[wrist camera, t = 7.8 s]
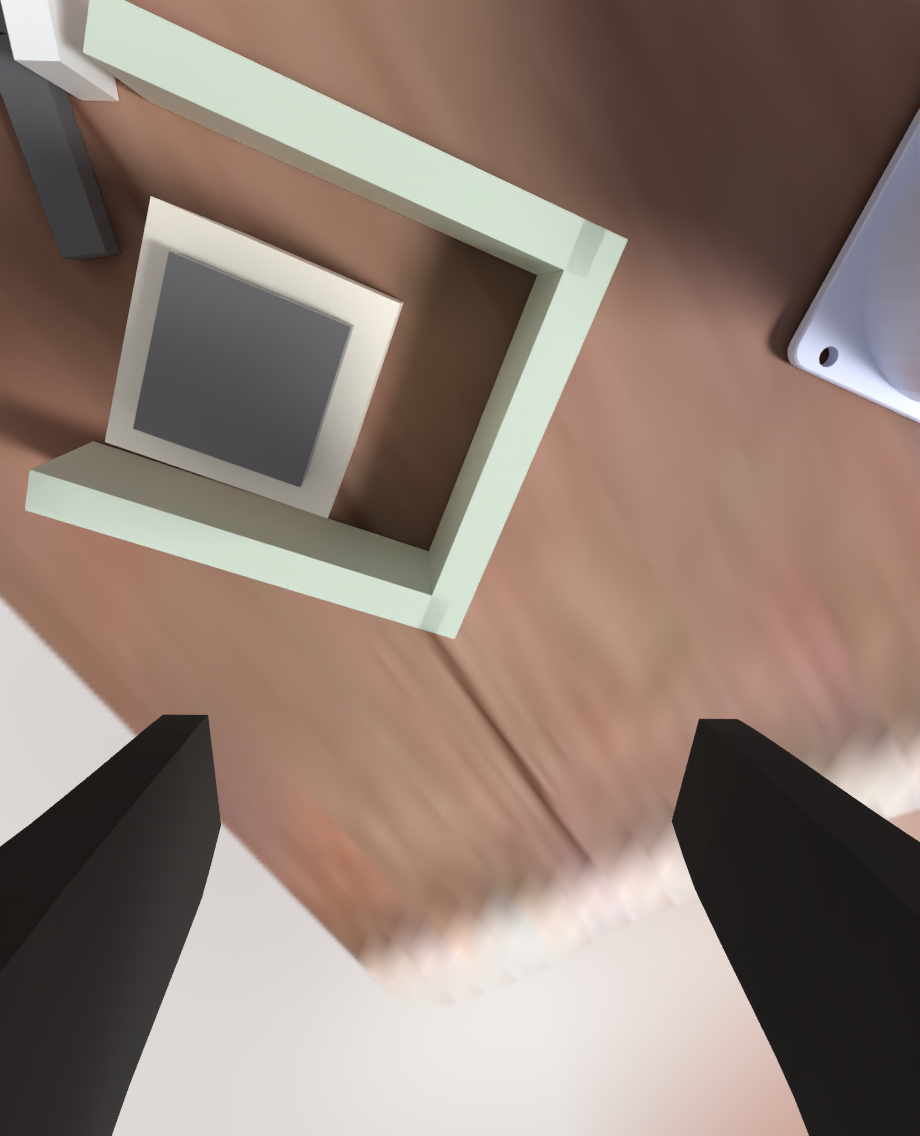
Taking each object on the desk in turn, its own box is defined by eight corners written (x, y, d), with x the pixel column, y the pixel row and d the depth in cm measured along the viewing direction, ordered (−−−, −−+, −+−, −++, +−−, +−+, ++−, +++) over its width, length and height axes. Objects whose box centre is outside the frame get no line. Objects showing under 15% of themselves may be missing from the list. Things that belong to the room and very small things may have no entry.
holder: (589, 250, 15) (628, 239, 13) (447, 589, 19) (454, 639, 16) (157, 49, 13) (91, -16, 11) (88, 475, 17) (25, 510, 14)
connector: (354, 447, 17) (324, 529, 11) (207, 393, 16) (88, 449, 10) (403, 301, 16) (399, 303, 10) (246, 233, 15) (134, 189, 9)
